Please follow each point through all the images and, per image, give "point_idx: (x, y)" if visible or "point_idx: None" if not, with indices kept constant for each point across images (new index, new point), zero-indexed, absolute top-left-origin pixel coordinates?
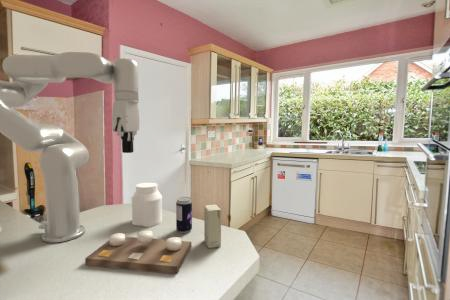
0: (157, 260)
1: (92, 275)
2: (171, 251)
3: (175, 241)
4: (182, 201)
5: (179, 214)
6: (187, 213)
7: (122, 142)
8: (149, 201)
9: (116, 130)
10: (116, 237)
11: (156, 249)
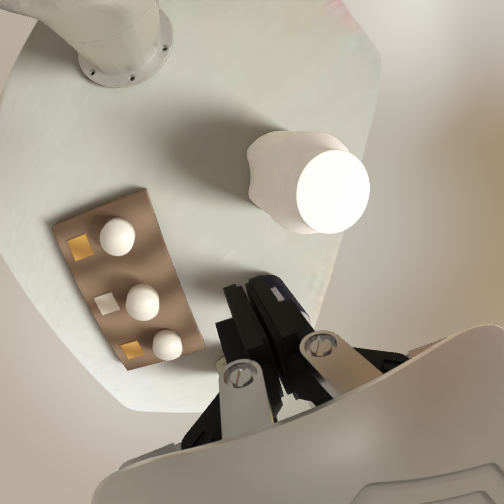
0: (120, 340)
1: (49, 262)
2: None
3: (165, 353)
4: None
5: None
6: None
7: (243, 343)
8: (277, 222)
9: (200, 459)
10: (111, 242)
11: None
